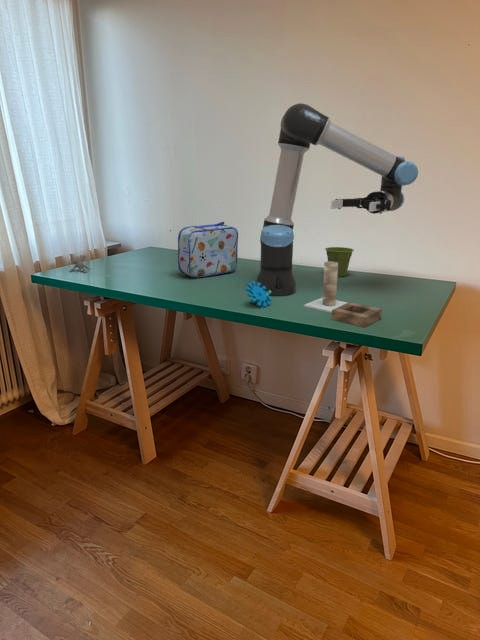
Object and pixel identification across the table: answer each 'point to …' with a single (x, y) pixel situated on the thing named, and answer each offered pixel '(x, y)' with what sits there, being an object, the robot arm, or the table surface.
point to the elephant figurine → (79, 264)
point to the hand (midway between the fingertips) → (350, 205)
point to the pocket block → (356, 314)
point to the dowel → (330, 283)
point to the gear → (258, 294)
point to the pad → (319, 306)
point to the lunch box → (207, 250)
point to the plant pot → (340, 258)
